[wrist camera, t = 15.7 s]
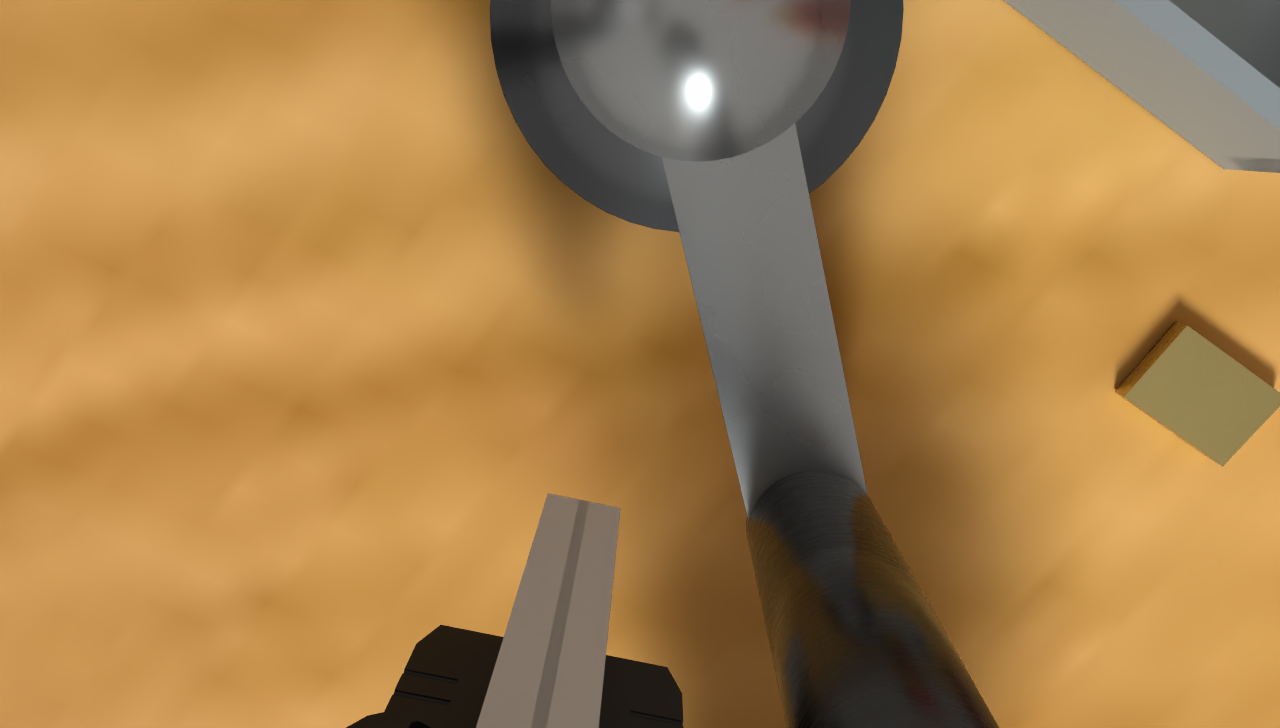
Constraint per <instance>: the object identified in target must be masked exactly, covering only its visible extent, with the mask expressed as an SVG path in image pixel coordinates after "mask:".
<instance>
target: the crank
mask: <svg viewBox="0 0 1280 728" xmlns="http://www.w3.org/2000/svg"><path fill="white" fill-rule="evenodd" d="M850 1H851V0H551V14H552V27H553V32H554V37H555V42H556V47H557V50H558V53H559V56H560V59H561V63H562V66H563V68H564V70H565V72H566V74H567V77H568V79H569V81H570V83H571V85H572V87H573V88H574V90H575V91H576V93H577V94H578V96H579V98H580V99H581V101H582V102H583V103H584V105H585V106H586V107H587V108H588V109H589V111H590V112H591V113H592V114H593V115H594V117H595V118H597V119H598V120H599V121H600V122H601V123H602V124H603V125H604V126H605V127H606V128H607V129H608V130H610V131H611V132H612V133H614V134H615V135H617V136H618V137H619V138H621V139H622V140H624V141H625V142H627V143H629V144H631V145H633V146H635V147H637V148H639V149H641V150H643V151H646V152H649V153H651V154H654V155H657V156H660V157H662V160H663V165H664V169H665V173H666V177H667V181H668V186H669V190H670V194H671V198H672V202H673V207H674V211H675V215H676V219H677V223H678V227H679V232H680V236H681V240H682V244H683V248H684V253H685V257H686V261H687V265H688V269H689V274H690V278H691V282H692V286H693V290H694V294H695V299H696V303H697V307H698V311H699V315H700V320H701V324H702V328H703V332H704V336H705V341H706V345H707V349H708V353H709V357H710V362H711V366H712V370H713V374H714V378H715V382H716V387H717V391H718V395H719V399H720V403H721V408H722V412H723V416H724V420H725V424H726V429H727V433H728V437H729V441H730V445H731V449H732V454H733V458H734V462H735V466H736V470H737V475H738V479H739V483H740V487H741V491H742V496H743V500H744V504H745V508H746V512H747V519H746V531H747V537H748V542H749V547H750V551H751V556H752V561H753V566H754V571H755V576H756V580H757V585H758V590H759V595H760V600H761V605H762V610H763V614H764V619H765V624H766V629H767V634H768V639H769V643H770V648H771V653H772V658H773V663H774V668H775V672H776V677H777V682H778V687H779V692H780V697H781V701H782V706H783V711H784V716H785V721H786V726H787V728H999V727H998V725H997V723H996V721H995V720H994V718H993V716H992V714H991V713H990V711H989V709H988V707H987V705H986V704H985V702H984V700H983V698H982V697H981V695H980V693H979V691H978V689H977V688H976V686H975V684H974V682H973V681H972V679H971V677H970V675H969V674H968V672H967V670H966V668H965V666H964V665H963V663H962V661H961V659H960V658H959V656H958V654H957V652H956V650H955V649H954V647H953V645H952V643H951V642H950V640H949V638H948V636H947V635H946V633H945V631H944V629H943V627H942V626H941V624H940V622H939V620H938V619H937V617H936V615H935V613H934V611H933V610H932V608H931V606H930V604H929V603H928V601H927V599H926V597H925V595H924V594H923V592H922V590H921V588H920V587H919V585H918V583H917V581H916V580H915V578H914V576H913V574H912V572H911V571H910V569H909V567H908V565H907V564H906V562H905V560H904V558H903V556H902V555H901V553H900V551H899V549H898V548H897V546H896V544H895V542H894V541H893V539H892V537H891V535H890V533H889V532H888V530H887V528H886V526H885V525H884V523H883V521H882V519H881V517H880V516H879V514H878V512H877V510H876V509H875V507H874V505H873V503H872V502H871V500H870V498H869V496H868V495H867V490H866V485H865V479H864V474H863V469H862V464H861V459H860V454H859V449H858V444H857V438H856V433H855V428H854V423H853V418H852V413H851V408H850V402H849V397H848V392H847V387H846V382H845V377H844V372H843V367H842V361H841V356H840V351H839V346H838V341H837V336H836V331H835V326H834V320H833V315H832V310H831V305H830V300H829V295H828V290H827V285H826V279H825V274H824V269H823V264H822V259H821V254H820V249H819V244H818V238H817V233H816V228H815V223H814V218H813V213H812V208H811V202H810V197H809V192H808V187H807V182H806V177H805V172H804V167H803V161H802V156H801V151H800V146H799V141H798V136H797V131H796V126H795V123H796V122H797V121H798V120H799V119H800V118H801V117H802V116H803V115H804V114H805V113H806V111H807V110H808V109H809V108H810V107H811V106H812V105H813V104H814V102H815V101H816V99H817V98H818V97H819V95H820V94H821V92H822V91H823V90H824V88H825V86H826V85H827V83H828V81H829V79H830V77H831V75H832V74H833V72H834V70H835V67H836V65H837V62H838V60H839V57H840V55H841V52H842V49H843V45H844V42H845V38H846V34H847V30H848V23H849V16H850Z"/></svg>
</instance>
